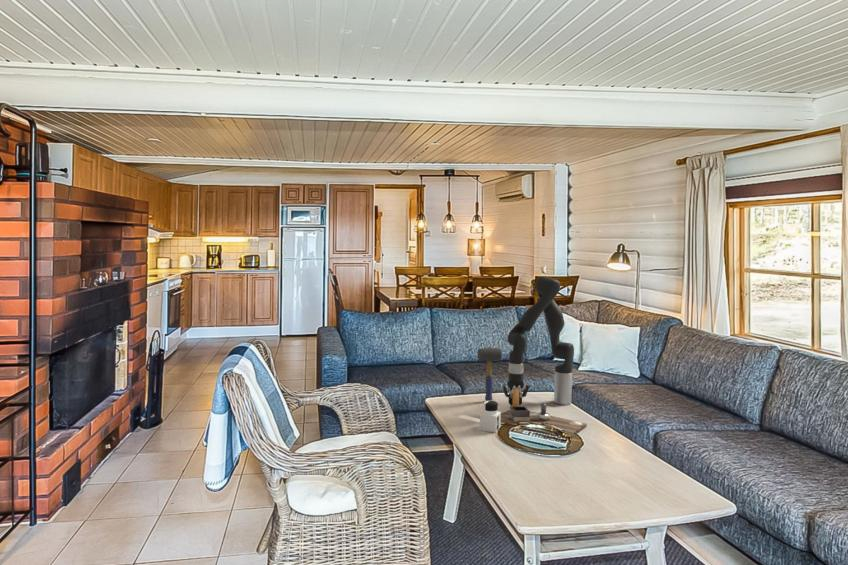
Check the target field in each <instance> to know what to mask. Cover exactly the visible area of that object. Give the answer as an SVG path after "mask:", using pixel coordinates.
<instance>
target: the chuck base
mask: <svg viewBox="0 0 848 565" xmlns="http://www.w3.org/2000/svg"><path fill="white" fill-rule="evenodd" d="M529 411H530V413H537V412H535V411H531V410H529ZM530 422H541V423H548V424H551V425H554V426H556V427H559V428H561V429H563V430H564V431H565V432H567V433H568V434H569V436H570V435H572V434H574V433H577V434H578V433H580V432H581V431H583V430H585V429H586V428H587V426H588V425H587V423H585V422H580V421H576V420H571V419H567V418H563V417H559V416H554V415H550V419H549V420H530ZM517 423H519V422H514V421H513V420H512V419H511V418H510V409H508V410H505V411H504V412H501V424H500V426H503V425H505V424H506V425H510V426H515V425H517Z"/></svg>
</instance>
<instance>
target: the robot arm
mask: <svg viewBox="0 0 848 565" xmlns="http://www.w3.org/2000/svg"><path fill="white" fill-rule="evenodd" d="M535 289H536V292H537V295H538V298H539V300H538V301H537V302H536V303H534V304H533V305H532V306H530V307H529V308H528V309H526V311H525V312H524V313H523V314H522V316H521V318H520V320H519V321H518V323H516V325H514V327H513V328H512V329H511V330H510V331H509V333H508V335H507V342H508V343H509V344H510V346H512V350H511V351H510V352H509V356H508V359H509V360H508V362H509V364H508V370H507V371H508V374H507V378H508V379H507V384H502V385H501V387H502V391H503V393H504V396H505V398H508V404H509V405H510V406H511V405H512V395H513V393H514V390H515V387H518V389H519V406H522V404H523V398H526V396H527V394H528V392H529V389H530V386H529V384H525V382H524V372H525V371H524V355H525V354H524V353H525V351H526V347H527V339H526V336H525V334H526V333H527V332H530V331H531V330H532V329H533V327H534V325H535V324H536V322H537V320H538V319H539V317H540V316H541V314H542V313H544V318H545V323H546V325H547V326H546V327H547V331H548V334H549V338H550V339H549V340H550V346H551V353H552V356H553V357H554V358H555V359H558V360H563V361H564V362H563V363H561V364H556V365H555V367H554V384H553V385H554V387H553V388H554V389H553V390H554V391H553V393H554V394H553V398H554V399H553V402H554V403H555V404H558V405H563V406H564V405H565V406H567V405H571V404H572V395H573V394H572V390H573V367H574V356H575V347H574V344H573V343H571V342H565V341H564V342H563V341H562V342H561V340H560V334H561V332H562V331H563V328H564V327H565V319H564V315H563V312H562V310H561V308H560V307H559V305H558V304H557V303H556V301H555V300H554V299H555V298H556V297H557V295H558V294H559V292H560V289H561V283H560V281H559V280H558V279H555V278H552V277H547V276H540V277H538V278H537V279H536V282H535ZM508 388H509V391H508ZM522 389H523V391H522Z"/></svg>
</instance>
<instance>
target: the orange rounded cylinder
mask: <svg viewBox="0 0 848 565" xmlns="http://www.w3.org/2000/svg"><path fill="white" fill-rule="evenodd" d="M512 406H520V405H519V389H518V387H515V390H514V393H513V395H512V405H510V407H512Z"/></svg>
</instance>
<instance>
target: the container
mask: <svg viewBox="0 0 848 565" xmlns="http://www.w3.org/2000/svg"><path fill="white" fill-rule="evenodd" d="M498 407H499V402H498V401H495V400H491V401H486V400H485V401H484V402H483V411H482V412H481V413H480V415H479V417H480V418H479V430H480V431H483V432H489V433H497V432H498V430H500V428H501V425H500V424H502V422H501V414H502V412H501V411H498V410H499V409H498Z"/></svg>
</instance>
